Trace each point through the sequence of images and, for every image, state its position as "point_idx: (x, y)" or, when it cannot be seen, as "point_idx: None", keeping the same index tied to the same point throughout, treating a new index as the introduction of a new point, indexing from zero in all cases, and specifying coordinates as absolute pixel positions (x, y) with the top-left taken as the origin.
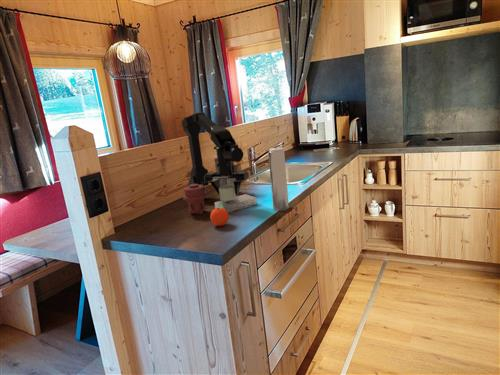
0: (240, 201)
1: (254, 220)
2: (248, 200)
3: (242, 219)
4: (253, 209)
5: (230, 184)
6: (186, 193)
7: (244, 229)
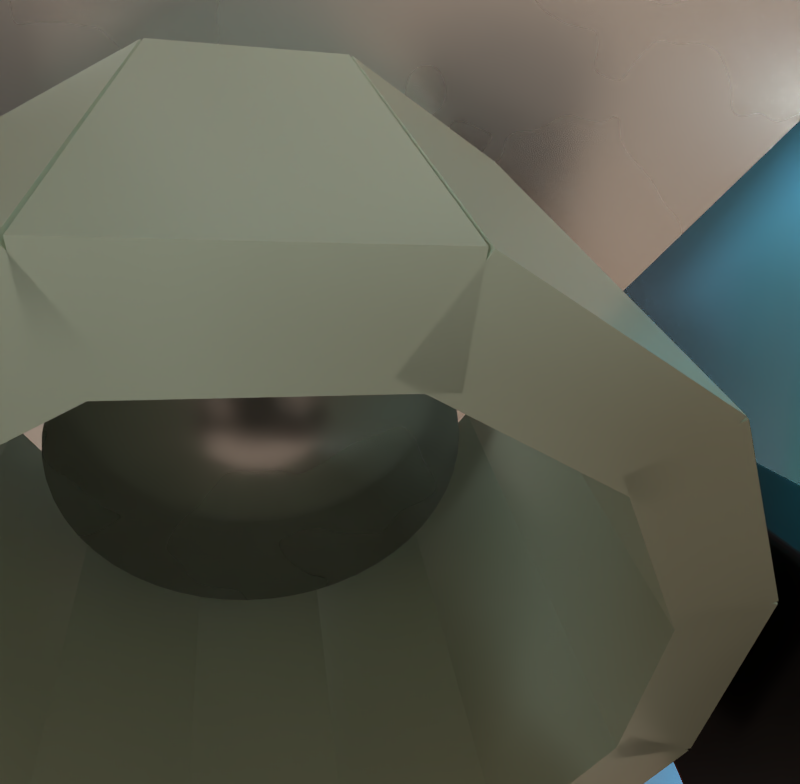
0: None
1: None
2: (768, 132)
3: None
4: (763, 289)
5: (172, 234)
6: None
7: (660, 780)
